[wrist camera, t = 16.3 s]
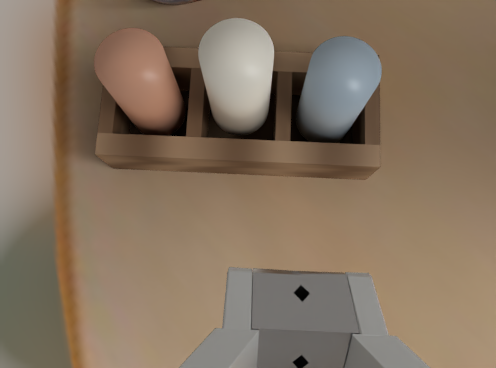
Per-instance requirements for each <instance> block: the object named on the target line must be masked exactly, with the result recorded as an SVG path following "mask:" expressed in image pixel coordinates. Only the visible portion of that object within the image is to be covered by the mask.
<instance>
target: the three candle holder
mask: <svg viewBox="0 0 496 368" xmlns="http://www.w3.org/2000/svg"><path fill="white" fill-rule="evenodd" d="M163 48H164V51H165V53H166V56H167V59H168V61H169V64H170V66H171V69H172V71H173V74H174V77H175V79H176V82H177V84H178V87H179V89H180V90H189V91H190V92H189V105H188V117H187V130H186V137H182V136H159V135H136V134H130V126H131V120H130V119H129V117H128V116H127V115H126V114H125V112H124V111H123V110H122V108H121V107H120V106H119V105H118V103H117V102H116V101H115V99H114V98H113V97H112V96H111V94H110V93H109V92H108V90H107V89H106V88H105V87H104V85H103V90H102V98H101V107H100V115H99V123H98V132H97V140H96V148H95V155H96V156H98V157H99V158H100V159H101V160H103V161H104V162H105V163H107V164H108V165H109V166H110V167H112V168H116V169H138V170H161V171H183V172H205V173H228V174H250V175H272V176H295V177H317V178H339V179H361V180H366V179H367V178H368V177H369V176H371V175H372V174H373V173H374V172H375V171H376V170H378V169H379V168H380V82H379V84H378V86H377V88H376V90H375V91H374V93H373V94H372V96H371V97H370V99H369V100H368V102H367V103H366V105H365V106H364V108H363V109H362V111H361V112H360V114H359V115H358V117H357V118H356V120H355V121H354V123H353V124H352V144H343V143H320V142H297V141H290V131H291V99H292V95H301V93H302V89H303V86H304V82H305V78H306V75H307V71H308V67H309V63H310V60H311V57H312V55H313V53H310V52H285V51H274V62H273V72H272V83H271V93H270V94H275V107H274V133H273V140H251V139H228V138H208V127H209V112H210V103H209V99H208V95H207V91H206V87H205V83H204V79H203V74H202V70H201V66H200V62H199V57H198V49H199V48H184V47H163ZM378 58H379V55H378Z"/></svg>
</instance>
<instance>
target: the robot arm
mask: <svg viewBox="0 0 496 368" xmlns="http://www.w3.org/2000/svg"><path fill="white" fill-rule="evenodd" d="M179 368H430V367H429V366H428V365H427V364H426V363H425V362H423V361H422V360H421V359H420V358H419V357H418V356H417V355H416V354H415V353H414V352H413V351H412V350H411V349H410V348H409V347H407V346H406V345H405V344H404V343H403V342H402V341H401V340H400V339H399V338H398V337H397V336H389V334H388V331H387V327H386V324H385V320H384V317H383V314H382V310H381V307H380V303H379V300H378V297H377V293H376V290H375V286H374V283H373V279H372V276H371V275H370V274H369V273H348V272H345V273H342V272H313V271H287V270H272V269H257V268H253V274H252V269H248V268H235V267H229V269H228V272H227V283H226V294H225V305H224V316H223V326H222V328H215V329H214V330H213V331H212V332H211V333H210V334H209V335H208V337H207V338H206V339H205V340H204V341H203V342H202V343H201V344H200V345H199V346H198V347H197V349H196V350H195V351H194V352H193V353H192V354H191V355H190V356H189V357H188V358H187V359H186V361H185V362H184V363H183V364H182V365H181V366H180V367H179Z"/></svg>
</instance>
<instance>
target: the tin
mask: <svg viewBox="0 0 496 368" xmlns="http://www.w3.org/2000/svg"><path fill="white" fill-rule="evenodd" d="M153 1H156V2H159V3H164V4H187V3H192V2H196V1H200V0H153Z"/></svg>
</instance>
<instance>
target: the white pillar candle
mask: <svg viewBox="0 0 496 368" xmlns="http://www.w3.org/2000/svg"><path fill="white" fill-rule="evenodd" d="M198 57H199V62H200V66H201V70H202V74H203V79H204V83H205V87H206V91H207V95H208V99H209V103H210V107H211V111H212V115H213V118H214V120H215V122H216V124H217V125H218V126H219V127H220V128H221V129H222V130H224V131H225V132H227V133H229V134H233V135H247V134H251V133H253V132H255V131H256V130H258V129H259V128H260V127H261V126H262V125H263V124H264V122H265V121H266V119H267V116H268V112H269V103H270V93H271V83H272V72H273V62H274V46H273V42H272V40H271V38H270V36H269V34H268V33H267V32H266V30H265V29H264V28H262V27H261V26H260V25H258V24H257V23H255V22H253V21H250V20H247V19H242V18H231V19H226V20H223V21H220V22H218V23H216V24H215V25H213V26H212V27H211V28H210V29H208V31H207V32H206V33H205V34H204V36H203V37H202V39H201V42H200V45H199V49H198Z"/></svg>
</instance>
